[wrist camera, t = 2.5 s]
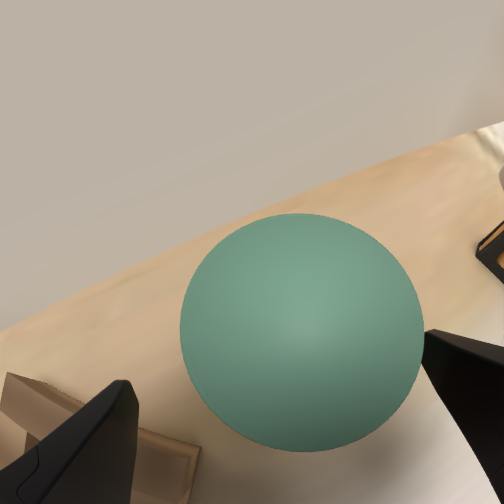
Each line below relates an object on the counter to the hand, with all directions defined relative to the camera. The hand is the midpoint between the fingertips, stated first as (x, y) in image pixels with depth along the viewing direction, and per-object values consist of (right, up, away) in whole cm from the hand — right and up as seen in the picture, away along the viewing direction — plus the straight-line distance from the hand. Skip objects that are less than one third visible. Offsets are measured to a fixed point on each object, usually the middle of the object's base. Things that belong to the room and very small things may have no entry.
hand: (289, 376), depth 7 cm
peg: (0, -4, +8) cm, 8 cm away
